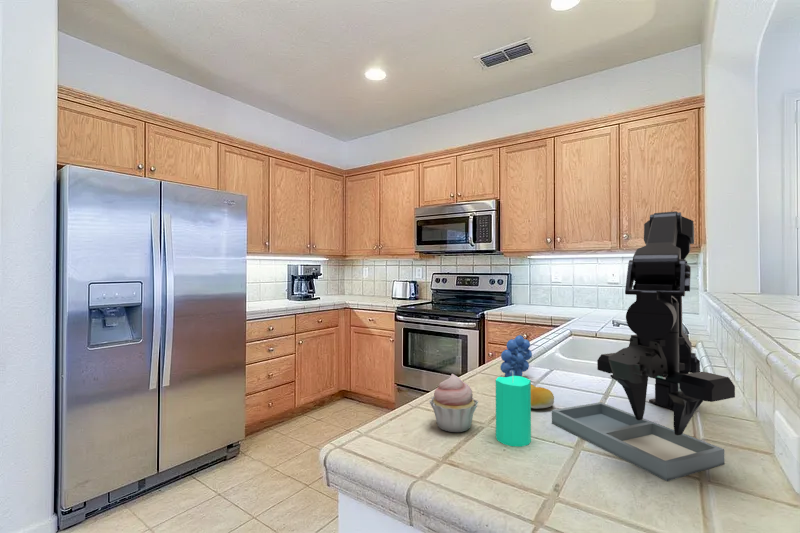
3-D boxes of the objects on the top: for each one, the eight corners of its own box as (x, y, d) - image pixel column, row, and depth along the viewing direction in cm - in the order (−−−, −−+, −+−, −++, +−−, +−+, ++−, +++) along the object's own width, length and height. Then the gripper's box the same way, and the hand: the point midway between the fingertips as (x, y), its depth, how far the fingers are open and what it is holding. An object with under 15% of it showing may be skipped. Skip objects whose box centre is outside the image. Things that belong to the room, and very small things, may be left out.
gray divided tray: (600, 414, 80) (600, 402, 80) (724, 465, 59) (724, 449, 59) (551, 423, 75) (551, 410, 75) (667, 482, 54) (667, 464, 54)
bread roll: (542, 412, 79) (540, 392, 79) (505, 402, 86) (505, 384, 86) (562, 403, 84) (561, 384, 84) (527, 394, 91) (526, 377, 91)
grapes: (518, 372, 112) (518, 331, 112) (537, 378, 106) (537, 334, 106) (489, 379, 105) (489, 335, 105) (508, 385, 100) (508, 339, 100)
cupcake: (457, 413, 80) (457, 365, 80) (488, 429, 72) (488, 376, 72) (419, 422, 76) (419, 371, 76) (448, 440, 67) (448, 383, 68)
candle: (531, 434, 70) (530, 368, 70) (530, 448, 64) (530, 377, 64) (497, 429, 72) (497, 365, 72) (494, 443, 66) (493, 374, 66)
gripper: (573, 325, 68) (574, 413, 68) (684, 344, 50) (685, 463, 50) (619, 322, 72) (620, 405, 72) (736, 338, 54) (737, 449, 54)
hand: (657, 427), depth 62 cm, fingers open, 6 cm apart
